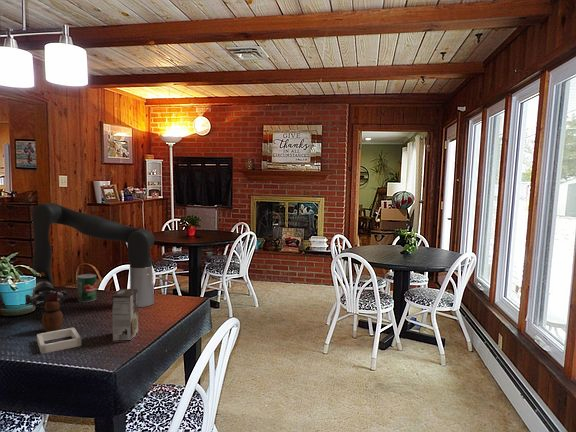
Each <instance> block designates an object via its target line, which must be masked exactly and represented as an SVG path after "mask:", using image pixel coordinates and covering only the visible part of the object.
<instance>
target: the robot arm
mask: <svg viewBox="0 0 576 432" xmlns="http://www.w3.org/2000/svg"><path fill="white" fill-rule="evenodd" d="M51 224H55V225H56V224H58V225H63V226H68V227H70V228H73V229H74V230H76V231H77V232H79V233H81V234H82V235H84V236H85V235H86V236H87V237H90V238H91V237H92V238H95V239H98V240H107V241H117V242H123V243H127V244H126V245H127V247H126V248H127V260H128V262H129V289H138V290H137V291H138V308H144V307H150V306H151V305H155V285H154V282H153V259H151V257H150V248H151V247H152V246H153V245H154V243H155V236H154V234H153V232H151V231H150V230H148V229H145V228H140V227H135V226H129V225H125V224H122V223H120V222H116V221H113V220H110V219H107V218H104V217H100V216H97V215H93V214H90V213H89V214H88V213H85V212H81V211H76V210H74V209H73V210H72V209H70V208H68V207H66V206H63V205H60V204H58V203H54V202H46V203H40V204H37V205H36V206H35V207H34V208H33V211H32V227H33V247H34V248H33V255H32V267H31V268H32V270H33V271H35V272H40V273H43V274H41V275H32V276H33V277H36V282H37V283H36V287H35V289H34V290H33V293H32V296H31V295H30V294H25V305H26V306H28V305H31V306H33V307H37V306H38V304H44V305H45V303H46V301H47V297H49V295H50V294H51V297H52V292H53V293H54V297H55V294H56V291H57V290H56V289H55V288H54V279H53V275H52V266H51V265H52V260H53V259H52V258H53V250H52V245H51V242H50V236H49V235H50V228H51ZM40 276H41V277H40ZM68 299H69V292H67V290H65V289H61V291H58V301H59V303H60V304H61V303H63V302H65V300H68Z"/></svg>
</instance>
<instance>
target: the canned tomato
mask: <svg viewBox="0 0 576 432" xmlns="http://www.w3.org/2000/svg"><path fill="white" fill-rule="evenodd" d="M76 278H77V280H76V281H77V283H76V287H77V302H80V303H87V302H92V301H95V300H97V274H95V273H84V274H78V275H77V276H76Z"/></svg>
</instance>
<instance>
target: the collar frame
mask: <svg viewBox="0 0 576 432" xmlns="http://www.w3.org/2000/svg"><path fill="white" fill-rule="evenodd" d="M68 337H71V338H70V339H66V340H60V341H56V342H51V343H45V342H47V341H51V340H57V339H62V338H68ZM36 343H37V346H38V349H39V352H40V354H41V355H43V354H49V353H53V352H57V351H63V350H67V349H72V348H77V347H81V346H82V337H81V336H80V334H79V333H78V331H77V329H76V328H75V327H68V328H65V329H64V328H63V329H62V328H61V329H60V330H57V331H51V332H47V331H46V332H41V333H36Z"/></svg>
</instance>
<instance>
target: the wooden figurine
mask: <svg viewBox="0 0 576 432" xmlns="http://www.w3.org/2000/svg"><path fill="white" fill-rule="evenodd" d="M55 291H56V294H55V297H54V293H53V292H52V297H51V294H50V295H49V297H47V301H46V303H45V304H44V312H43V314H42V317H41V325H42V327H43V330H44V331H46V332H51V331H57V330H62V326H63V323H64V314H63V312H62V311H61V310H59V309H60V307H61V302H60V301H59V300H58V292H59V291H58V289H56V290H55Z"/></svg>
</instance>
